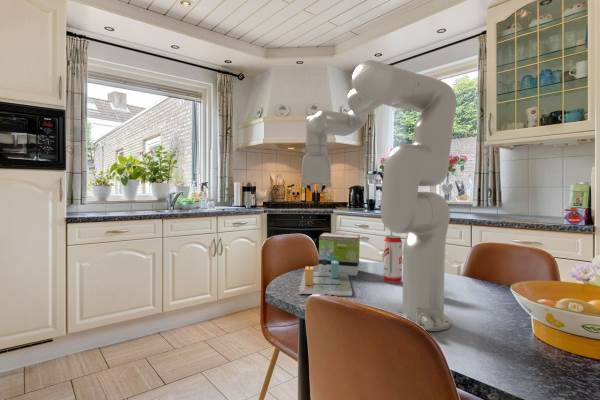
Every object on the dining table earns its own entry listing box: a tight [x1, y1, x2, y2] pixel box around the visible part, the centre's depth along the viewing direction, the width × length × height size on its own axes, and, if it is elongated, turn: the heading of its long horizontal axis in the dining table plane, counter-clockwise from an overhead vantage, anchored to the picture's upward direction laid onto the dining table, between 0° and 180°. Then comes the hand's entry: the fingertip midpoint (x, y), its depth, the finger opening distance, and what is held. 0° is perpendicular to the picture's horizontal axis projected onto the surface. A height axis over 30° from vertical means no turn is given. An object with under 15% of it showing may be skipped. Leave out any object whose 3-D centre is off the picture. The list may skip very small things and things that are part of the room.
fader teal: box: [331, 261, 339, 278], centre depth 121 cm, size 4×2×5 cm, turn 176°
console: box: [298, 270, 353, 297], centre depth 117 cm, size 24×16×2 cm, turn 176°
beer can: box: [382, 234, 403, 285], centre depth 121 cm, size 6×6×16 cm
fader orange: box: [304, 265, 314, 285], centre depth 112 cm, size 4×2×5 cm, turn 176°
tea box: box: [318, 232, 361, 277], centre depth 135 cm, size 15×10×15 cm
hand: (316, 203), depth 121 cm, fingers closed
